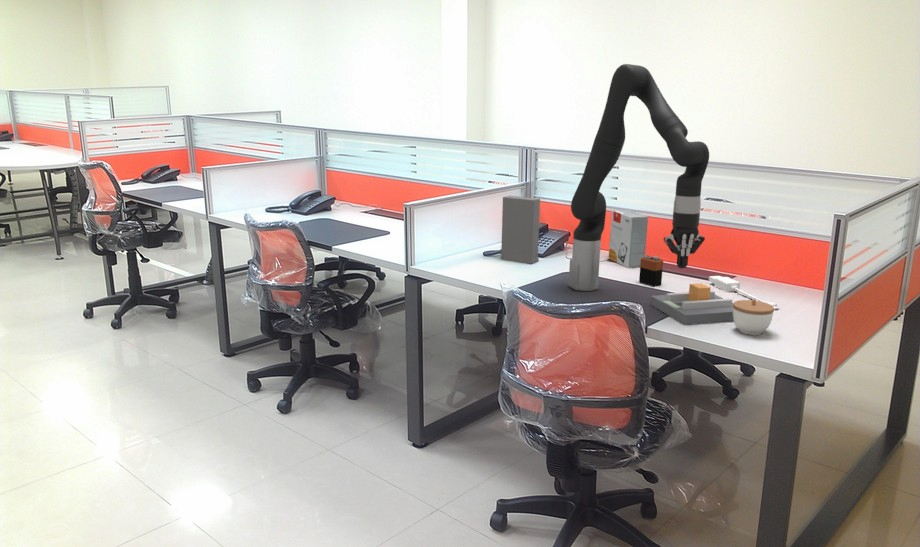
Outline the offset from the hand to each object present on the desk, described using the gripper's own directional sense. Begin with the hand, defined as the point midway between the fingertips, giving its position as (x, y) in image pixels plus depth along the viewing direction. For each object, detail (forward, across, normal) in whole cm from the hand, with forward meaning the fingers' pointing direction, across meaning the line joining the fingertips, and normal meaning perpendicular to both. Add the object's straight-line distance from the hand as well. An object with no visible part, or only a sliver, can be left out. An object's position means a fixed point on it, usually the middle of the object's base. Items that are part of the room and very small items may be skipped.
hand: (681, 267), depth 213 cm
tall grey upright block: (+14, -25, +75) cm, 80 cm away
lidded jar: (+15, +12, -19) cm, 27 cm away
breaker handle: (+11, +7, 0) cm, 13 cm away
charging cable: (+15, +32, +14) cm, 38 cm away
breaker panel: (+15, +7, 0) cm, 16 cm away
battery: (+15, +9, +33) cm, 37 cm away
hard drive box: (+14, +15, +63) cm, 66 cm away
